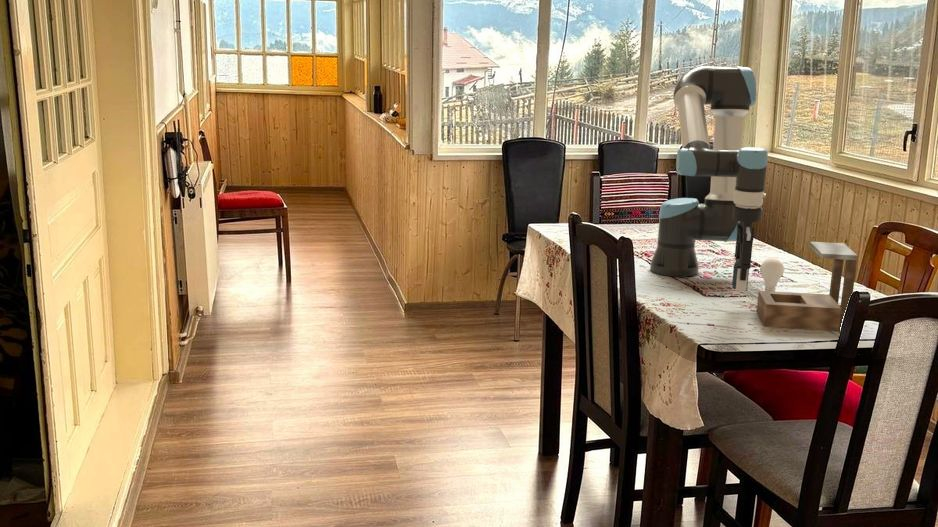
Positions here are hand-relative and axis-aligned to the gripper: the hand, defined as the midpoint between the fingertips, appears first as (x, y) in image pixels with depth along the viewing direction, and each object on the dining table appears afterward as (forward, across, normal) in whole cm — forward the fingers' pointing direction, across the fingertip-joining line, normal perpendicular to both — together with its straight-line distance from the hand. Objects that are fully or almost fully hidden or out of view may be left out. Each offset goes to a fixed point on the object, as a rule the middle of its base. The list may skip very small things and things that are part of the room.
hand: (739, 287), depth 240 cm
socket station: (+5, -10, -15) cm, 19 cm away
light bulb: (+6, +15, -11) cm, 20 cm away
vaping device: (+1, 0, 0) cm, 1 cm away
